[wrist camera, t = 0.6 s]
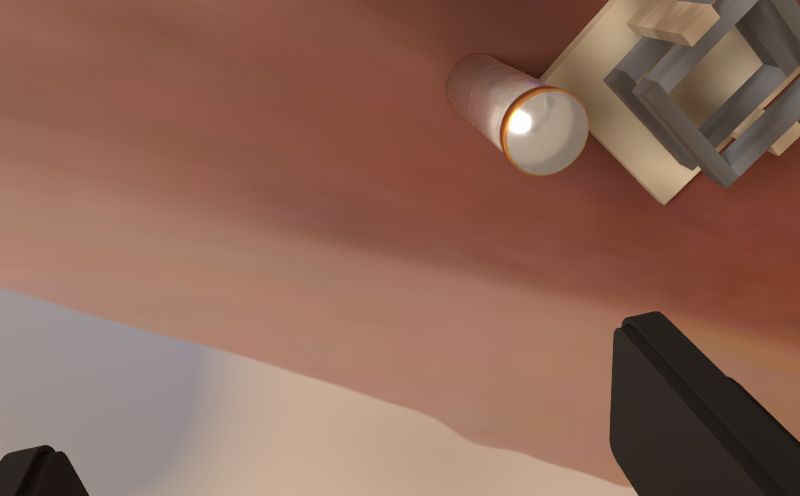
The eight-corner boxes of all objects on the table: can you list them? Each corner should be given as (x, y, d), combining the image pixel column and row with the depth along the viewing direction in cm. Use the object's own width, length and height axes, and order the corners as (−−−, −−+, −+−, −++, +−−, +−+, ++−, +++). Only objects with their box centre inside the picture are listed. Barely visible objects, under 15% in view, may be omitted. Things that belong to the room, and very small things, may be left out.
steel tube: (475, 37, 37) (551, 70, 27) (519, 81, 39) (607, 128, 28) (431, 90, 38) (487, 141, 28) (476, 130, 40) (545, 193, 29)
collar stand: (700, -102, 36) (787, -115, 30) (806, 53, 42) (897, 69, 35) (537, 79, 39) (585, 102, 33) (656, 200, 45) (716, 239, 39)
